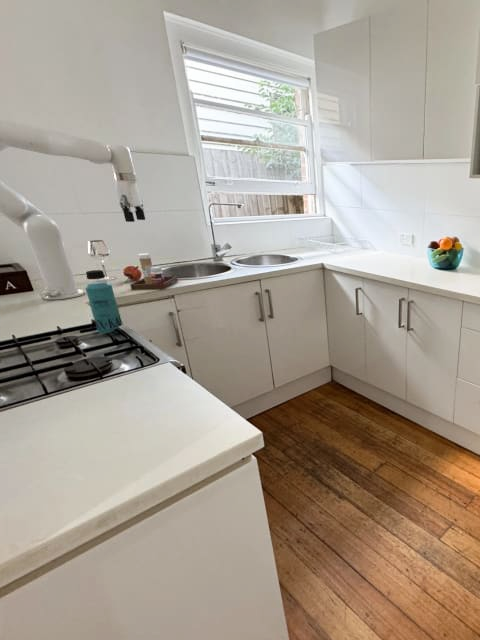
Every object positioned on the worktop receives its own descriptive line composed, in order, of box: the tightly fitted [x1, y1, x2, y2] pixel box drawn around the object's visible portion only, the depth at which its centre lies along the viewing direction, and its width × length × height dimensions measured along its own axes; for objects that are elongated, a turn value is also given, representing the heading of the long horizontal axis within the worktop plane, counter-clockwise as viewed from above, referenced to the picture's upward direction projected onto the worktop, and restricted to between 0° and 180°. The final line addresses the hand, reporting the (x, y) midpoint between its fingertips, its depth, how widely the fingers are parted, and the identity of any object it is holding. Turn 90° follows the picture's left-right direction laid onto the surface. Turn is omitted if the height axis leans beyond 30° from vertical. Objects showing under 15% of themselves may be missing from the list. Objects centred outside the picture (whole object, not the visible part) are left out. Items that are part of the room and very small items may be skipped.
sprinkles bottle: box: [137, 252, 154, 284], centre depth 174 cm, size 5×5×13 cm
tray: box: [129, 276, 179, 291], centre depth 174 cm, size 15×13×2 cm
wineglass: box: [87, 239, 116, 281], centre depth 181 cm, size 8×8×18 cm
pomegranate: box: [122, 265, 143, 283], centre depth 181 cm, size 7×7×10 cm
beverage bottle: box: [84, 269, 124, 334], centre depth 114 cm, size 6×7×20 cm
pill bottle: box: [150, 266, 165, 284], centre depth 170 cm, size 5×5×8 cm
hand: (136, 220), depth 166 cm, fingers open, 9 cm apart
